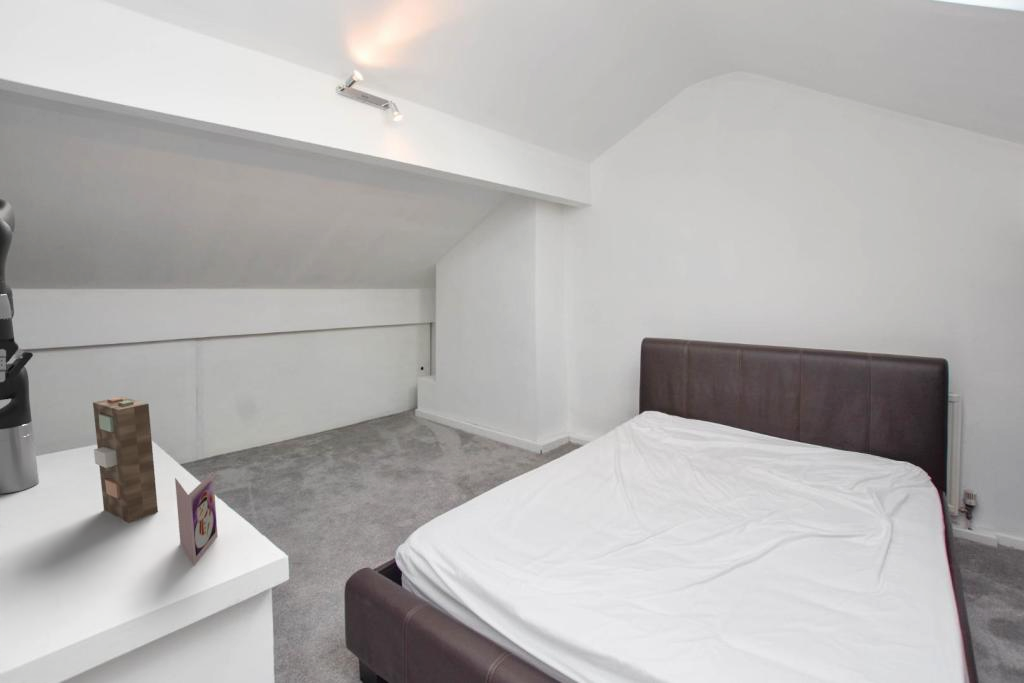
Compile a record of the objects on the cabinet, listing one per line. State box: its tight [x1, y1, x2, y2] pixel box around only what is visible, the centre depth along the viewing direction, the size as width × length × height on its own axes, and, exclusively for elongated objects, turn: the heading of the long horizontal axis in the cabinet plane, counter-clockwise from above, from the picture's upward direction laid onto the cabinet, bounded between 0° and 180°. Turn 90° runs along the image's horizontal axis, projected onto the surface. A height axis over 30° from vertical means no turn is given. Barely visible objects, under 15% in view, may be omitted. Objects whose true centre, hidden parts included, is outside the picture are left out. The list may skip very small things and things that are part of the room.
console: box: [92, 396, 159, 523], centre depth 117 cm, size 12×6×28 cm, turn 62°
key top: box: [99, 414, 114, 432], centre depth 114 cm, size 5×3×3 cm, turn 62°
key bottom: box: [105, 479, 121, 499], centre depth 116 cm, size 5×3×3 cm, turn 62°
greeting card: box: [174, 471, 219, 567], centre depth 101 cm, size 11×7×15 cm, turn 10°
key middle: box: [93, 447, 117, 468], centre depth 114 cm, size 5×3×3 cm, turn 62°
